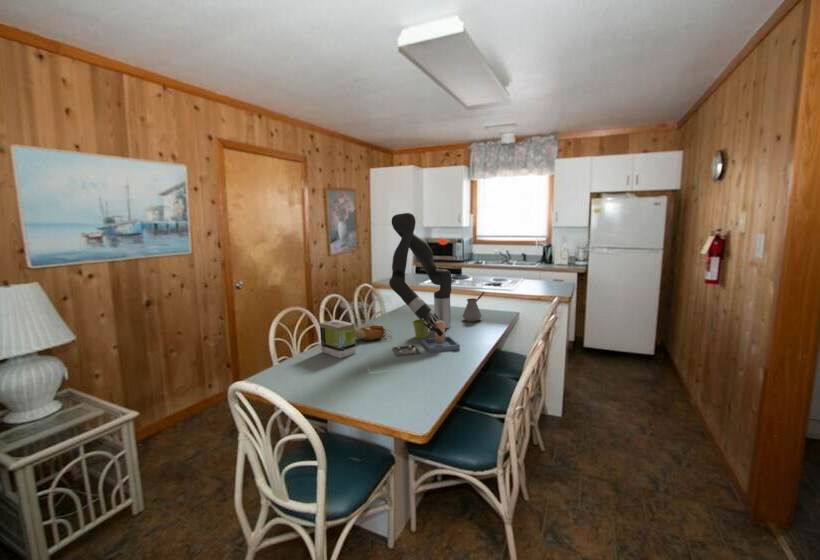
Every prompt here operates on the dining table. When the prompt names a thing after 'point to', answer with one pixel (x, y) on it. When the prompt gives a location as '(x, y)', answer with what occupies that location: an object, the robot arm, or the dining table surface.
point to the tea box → (338, 338)
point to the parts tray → (406, 350)
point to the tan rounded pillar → (441, 326)
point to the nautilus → (371, 332)
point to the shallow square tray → (448, 344)
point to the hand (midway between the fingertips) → (443, 333)
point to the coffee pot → (472, 310)
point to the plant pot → (420, 328)
